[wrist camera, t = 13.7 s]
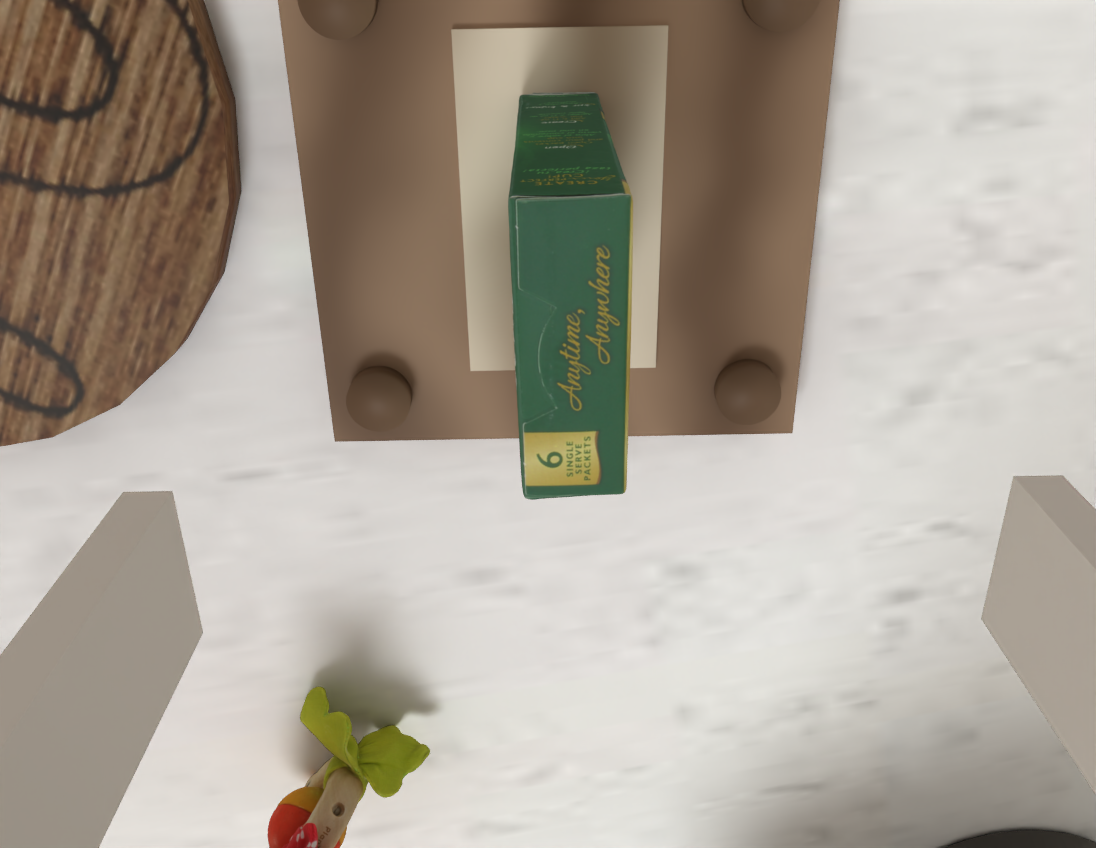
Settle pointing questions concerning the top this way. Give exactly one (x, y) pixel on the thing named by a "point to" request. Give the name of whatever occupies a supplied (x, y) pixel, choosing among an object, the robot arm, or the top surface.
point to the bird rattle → (341, 777)
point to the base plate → (484, 183)
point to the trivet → (106, 199)
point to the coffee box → (570, 297)
